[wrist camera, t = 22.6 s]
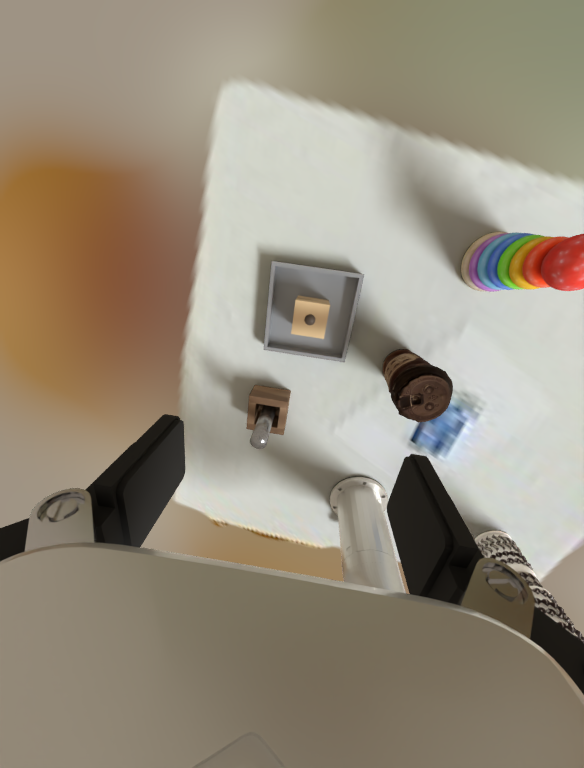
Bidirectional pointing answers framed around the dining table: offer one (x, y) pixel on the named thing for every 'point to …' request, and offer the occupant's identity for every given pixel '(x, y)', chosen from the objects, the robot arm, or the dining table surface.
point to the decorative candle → (523, 574)
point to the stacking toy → (524, 262)
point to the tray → (316, 284)
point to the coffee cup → (416, 386)
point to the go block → (271, 398)
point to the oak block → (310, 317)
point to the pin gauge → (263, 427)
